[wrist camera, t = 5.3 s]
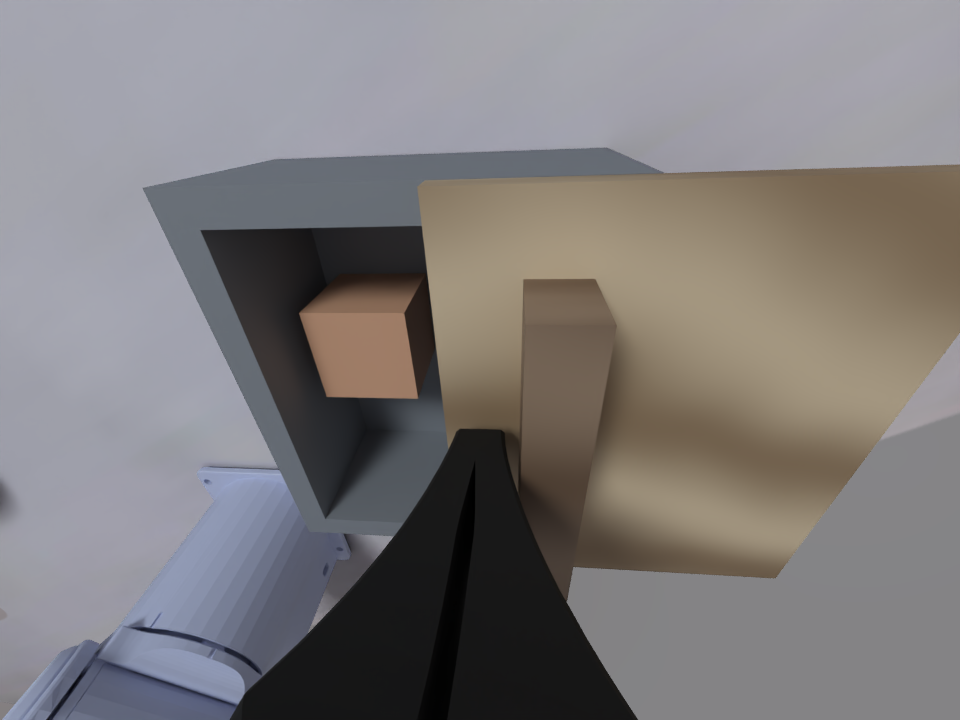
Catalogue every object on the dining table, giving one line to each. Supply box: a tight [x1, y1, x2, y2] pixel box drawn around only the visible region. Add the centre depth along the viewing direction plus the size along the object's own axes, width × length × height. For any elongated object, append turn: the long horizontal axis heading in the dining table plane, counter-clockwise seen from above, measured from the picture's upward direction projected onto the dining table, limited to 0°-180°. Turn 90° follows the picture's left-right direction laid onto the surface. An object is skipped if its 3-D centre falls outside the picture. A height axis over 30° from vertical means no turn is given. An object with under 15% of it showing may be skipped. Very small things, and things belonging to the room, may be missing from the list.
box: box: [143, 148, 664, 536], centre depth 15 cm, size 14×12×6 cm
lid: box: [417, 165, 960, 601], centre depth 11 cm, size 14×12×3 cm
